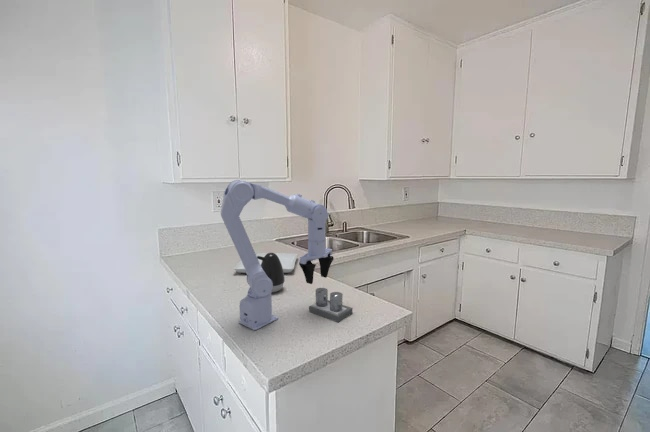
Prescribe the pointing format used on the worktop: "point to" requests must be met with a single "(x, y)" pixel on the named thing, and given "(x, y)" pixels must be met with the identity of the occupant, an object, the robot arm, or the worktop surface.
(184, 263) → the worktop surface
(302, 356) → the worktop surface
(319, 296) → the cylinder
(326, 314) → the scale
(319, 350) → the worktop surface
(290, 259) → the square plate
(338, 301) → the cylinder
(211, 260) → the worktop surface
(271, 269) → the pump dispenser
